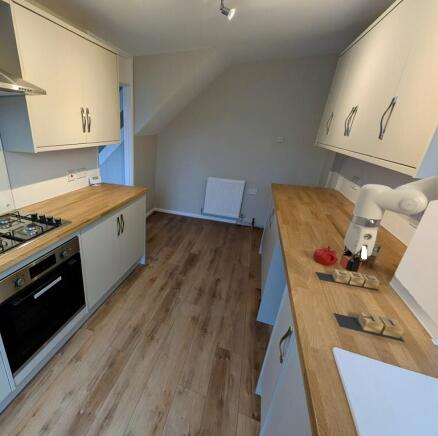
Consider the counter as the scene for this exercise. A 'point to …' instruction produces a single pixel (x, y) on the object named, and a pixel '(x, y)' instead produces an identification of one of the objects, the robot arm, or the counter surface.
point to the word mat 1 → (330, 279)
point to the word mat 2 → (358, 326)
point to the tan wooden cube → (370, 322)
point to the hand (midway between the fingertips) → (348, 266)
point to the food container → (372, 257)
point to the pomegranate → (325, 256)
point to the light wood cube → (370, 281)
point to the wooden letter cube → (356, 279)
